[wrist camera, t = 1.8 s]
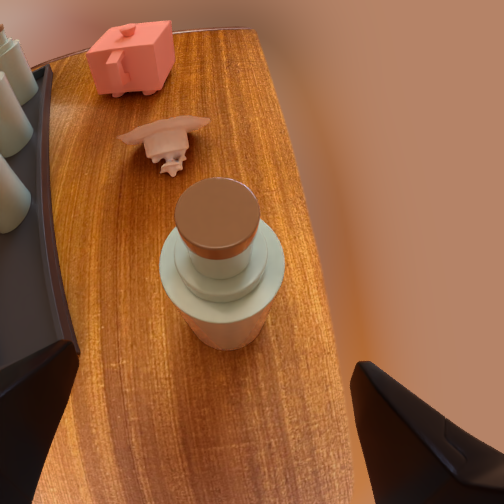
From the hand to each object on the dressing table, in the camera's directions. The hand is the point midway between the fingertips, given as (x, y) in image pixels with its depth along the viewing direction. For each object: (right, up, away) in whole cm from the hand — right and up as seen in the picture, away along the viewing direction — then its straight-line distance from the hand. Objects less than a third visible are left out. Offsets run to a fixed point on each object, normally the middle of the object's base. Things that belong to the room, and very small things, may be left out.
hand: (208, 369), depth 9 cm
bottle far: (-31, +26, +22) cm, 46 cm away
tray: (-24, +12, +17) cm, 32 cm away
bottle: (0, -1, +12) cm, 12 cm away
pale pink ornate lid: (-6, +12, +18) cm, 23 cm away
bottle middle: (-27, +17, +18) cm, 36 cm away
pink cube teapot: (-12, +24, +23) cm, 36 cm away
